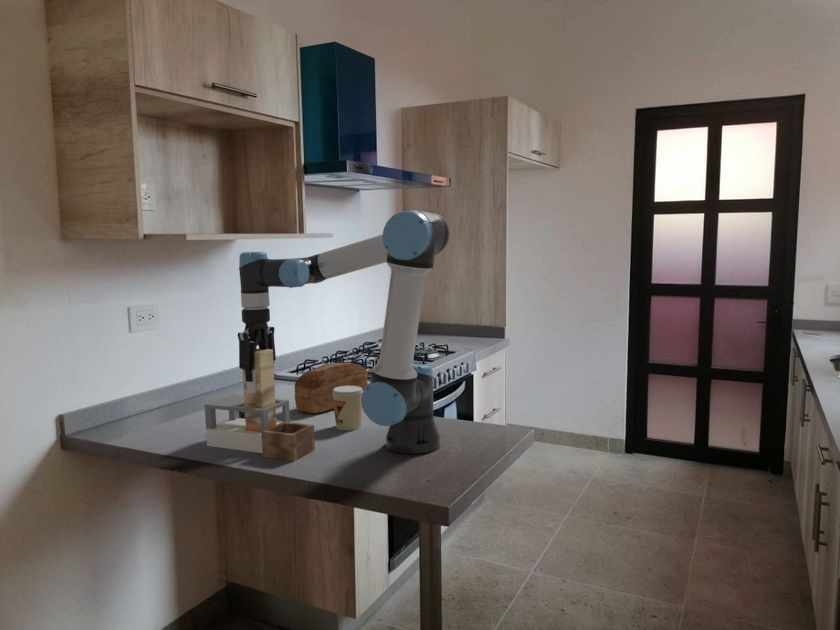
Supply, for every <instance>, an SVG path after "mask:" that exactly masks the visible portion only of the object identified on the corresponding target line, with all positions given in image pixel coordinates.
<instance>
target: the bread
mask: <svg viewBox="0 0 840 630" xmlns="http://www.w3.org/2000/svg"><path fill="white" fill-rule="evenodd" d="M368 376H369V375H368V370H367V369H366V368H365V367H364V366H363V365H360V364H356V363H352V362H335V363H329V364H327V363H326V364H323V365H319V366H318V367H315V368H312V369H310V370H307V371H305V372H304V373H303V374H301V375H300V376H299V378H298V379H297V380H296V381H295V383H294V401H295V407H296V409H297V410H299V411H300V412H304V413H306V414H307V413H309V414H319V413H324V412H327V411H329V410H332V409H334V401H333V394H332V391H333V389H334V388H336V387H340V386H359V387H361V388H362V390H363V391H364V390H365V388H366V387H367V386H368Z"/></svg>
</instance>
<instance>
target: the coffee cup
mask: <svg viewBox="0 0 840 630" xmlns="http://www.w3.org/2000/svg"><path fill="white" fill-rule="evenodd" d="M362 393H363V390H362V388H361V387H359V386H340V387H336V388H334V389H333V391H332V394H333V401H334V408H333V409H334V419H335V427H336V429H337V430H339V431H344V432H346V431H348V432H349V431H356V430H359V429H361V427H362V422H363V418H362V417H363V408H362V404H361V397H362Z"/></svg>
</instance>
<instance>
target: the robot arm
mask: <svg viewBox="0 0 840 630" xmlns="http://www.w3.org/2000/svg"><path fill="white" fill-rule="evenodd" d="M449 240H450V228H449V224H448V223H447V221H446V220H445V219H444V217H442V216H441V215H440V214H438V213H436V212H434V211H430V210H429V211H427V210H416V209H407V210H402V211H400V212H397V213H395V214H393V215H392V216H391V217H390V218H389V219H388V220H387V221H386V223H385V224H384V227H383V229H382V234H379V235H376V236H373V237H369V238H367V239H364V240H360V241H357V242H353V243H351V244H347V245H344V246H340V247H337V248H334V249H330V250H327V251H323V252H321V253H317V254H315V255H311V256H306V257H297V258H296V257H295V258H279V259H278V258H275V259H274V258H271V259H270V258H268V254H267V252H265V251H246V252H245V251H243V252H241V253H240V254H239V257H238V258H239V260H238V261H239V266H238V270H239V281H240V297H241V298H240V299H241V300H240V303H241V308H243V309H241V322H242V323H243V324H244V330H243V331H242V332H238V333H237V339H238V344H239V345H238V363H239V364H238V367H239V369H241V370H242V371H243V370H245V376H246V382H247V393H257V388H256V370H255V369H253V368H254V361H255V355H254V353H255V352H256V348H257V347H258V349H273V365H275V361H277V359H276V358H277V354H276V345H275V343H276V342H275V326H269V325H268V322H270V320H271V313H270V312H271V310H270V308H269V306H270V291H269V288H271V287H272V288H274V287H276V288H278V287H279V288H289V289H292V288H303V287H304V286H305V285H309V284H313V285H314V284H319V283H322V282H324V281H326V280H330V279H332V278H334V277H339V276H343V275H347V274H349V273H353V272H357V271H361V270H364V269H367V268H371V267H375V266H378V265H381V264H385V263H386V264H387V266H388V267H389V268H390V279H389V285H388V293H387V301H386V308H385V316H384V322H383V330H382V331H383V332H382V338H381V346H380V354H379V360H378V363H377V364H375V365H374V366H372V369H371V376H370V381H369V384H367V387H366V388H365V390H364V391H363V393H362V397H361V404H362V412H363V413H364V414H366V416H367V418H368V419H369V420H370V421H372V423H374V424H376V425H379V426H382V427H388V431H387V434H386V437H385V448H386V449H387V450H389V451H391V452H394V453H398V454H403V455H404V454H405V455H419V454H425V453H430V452H433V451H436V450H438V449H439V448H440V447H441V437H440V432H439V429H438V427H437V424H436V422H435V419H434V418H435V417H434V375H433V368H432V366H431V365H429V364H423V363H414V357H415V351H416V346H417V345H416V344H417V339H418V338H417V337H418V330H419V325H420V318H421V311H422V303H423V296H424V290H425V282H426V275H427V274H428V273H430V272H431V271H432V270H434V269H433V268H434V263H435V256H436V255H438V254H440V253H442V251H444V250H445V248H446V247H447V245H448V243H449ZM249 364H250V365H249Z"/></svg>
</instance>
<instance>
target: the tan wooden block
mask: <svg viewBox="0 0 840 630" xmlns="http://www.w3.org/2000/svg"><path fill="white" fill-rule="evenodd" d="M254 355H255V361H254V368H253V369H255V370H256V388H257V393H247V382H246V376H245V370H243V369H242V382H243V383H242V384H243V396H244V406H245V407H250V408H260V409H265V408H267V407H270V406H272V405H275V399H276V392H275V390H276V389H275V388H276V387H275V372H274V371H275V370H274V369H275V368H274V365H275V364H273V349H259V347H258V348H257V347H256V352H255V353H254ZM249 365H250V364H249ZM276 412H277V409H275V410H272V411H270V412H268V422H270V421H272V420H274V419H276V420H277V413H276ZM245 422H246V423H254V424H261V414H257V413H248V412H245Z"/></svg>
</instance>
